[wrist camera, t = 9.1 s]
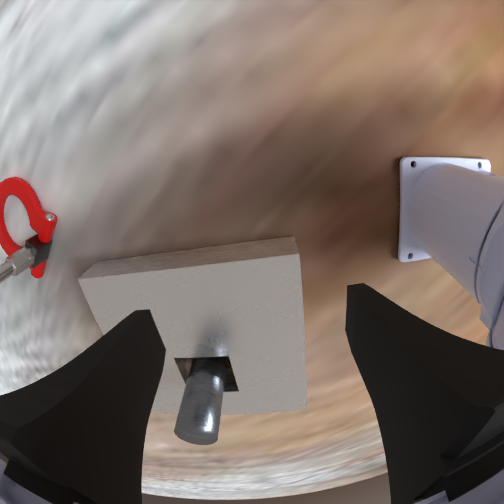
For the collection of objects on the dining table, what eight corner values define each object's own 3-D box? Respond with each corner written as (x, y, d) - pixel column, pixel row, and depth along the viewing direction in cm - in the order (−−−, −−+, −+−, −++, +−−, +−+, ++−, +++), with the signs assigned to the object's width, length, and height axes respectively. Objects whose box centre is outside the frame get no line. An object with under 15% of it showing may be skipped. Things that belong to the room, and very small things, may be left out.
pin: (225, 338, 23) (212, 426, 15) (231, 361, 25) (221, 445, 16) (192, 338, 24) (168, 423, 15) (199, 362, 25) (181, 443, 17)
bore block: (293, 235, 20) (299, 253, 17) (303, 385, 26) (306, 408, 23) (95, 262, 21) (77, 279, 18) (155, 390, 27) (148, 411, 24)
